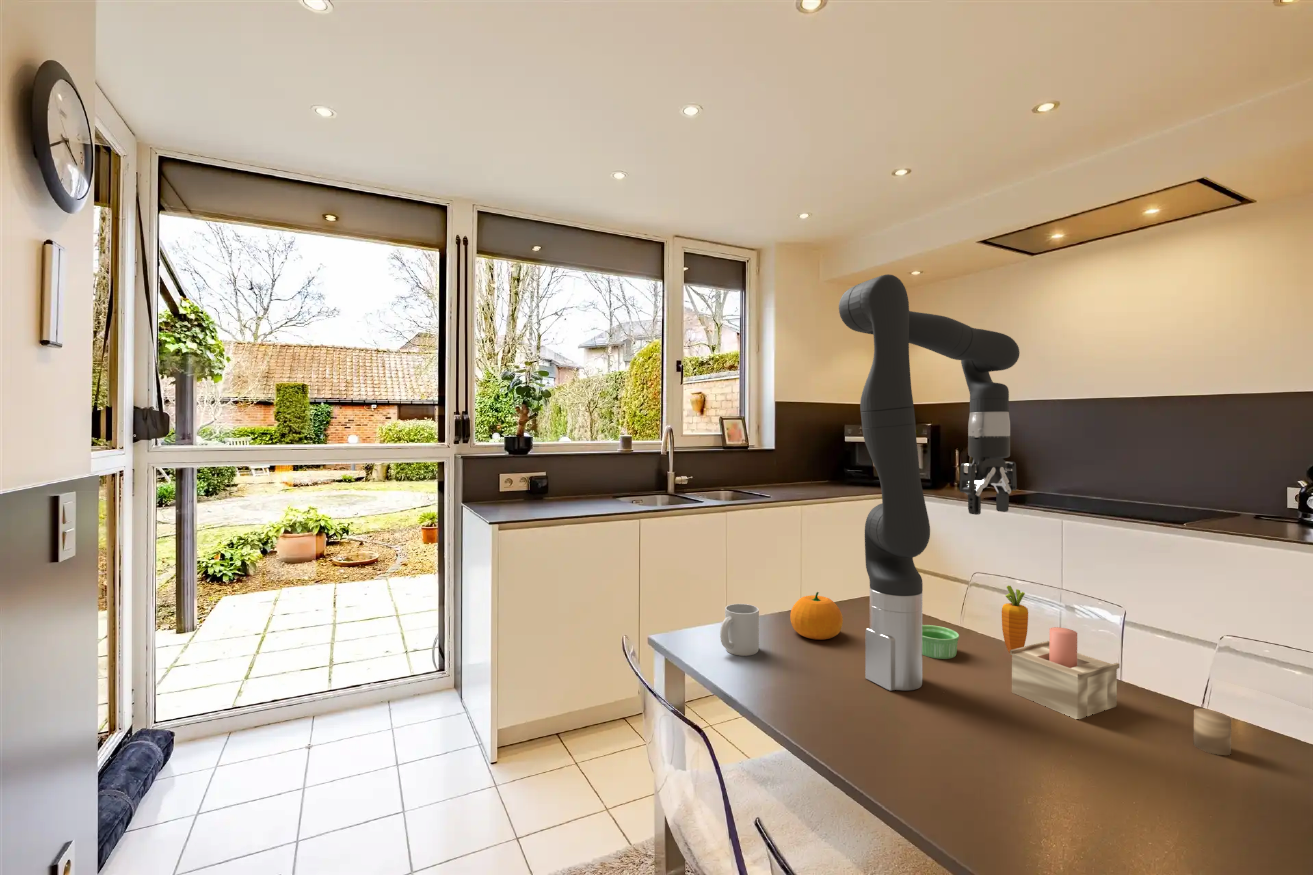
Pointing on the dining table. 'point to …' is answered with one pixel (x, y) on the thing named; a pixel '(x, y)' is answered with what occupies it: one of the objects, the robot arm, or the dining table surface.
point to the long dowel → (1063, 647)
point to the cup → (740, 629)
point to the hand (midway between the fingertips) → (988, 512)
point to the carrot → (1014, 620)
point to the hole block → (1064, 681)
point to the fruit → (816, 617)
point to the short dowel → (1212, 731)
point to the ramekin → (939, 642)
